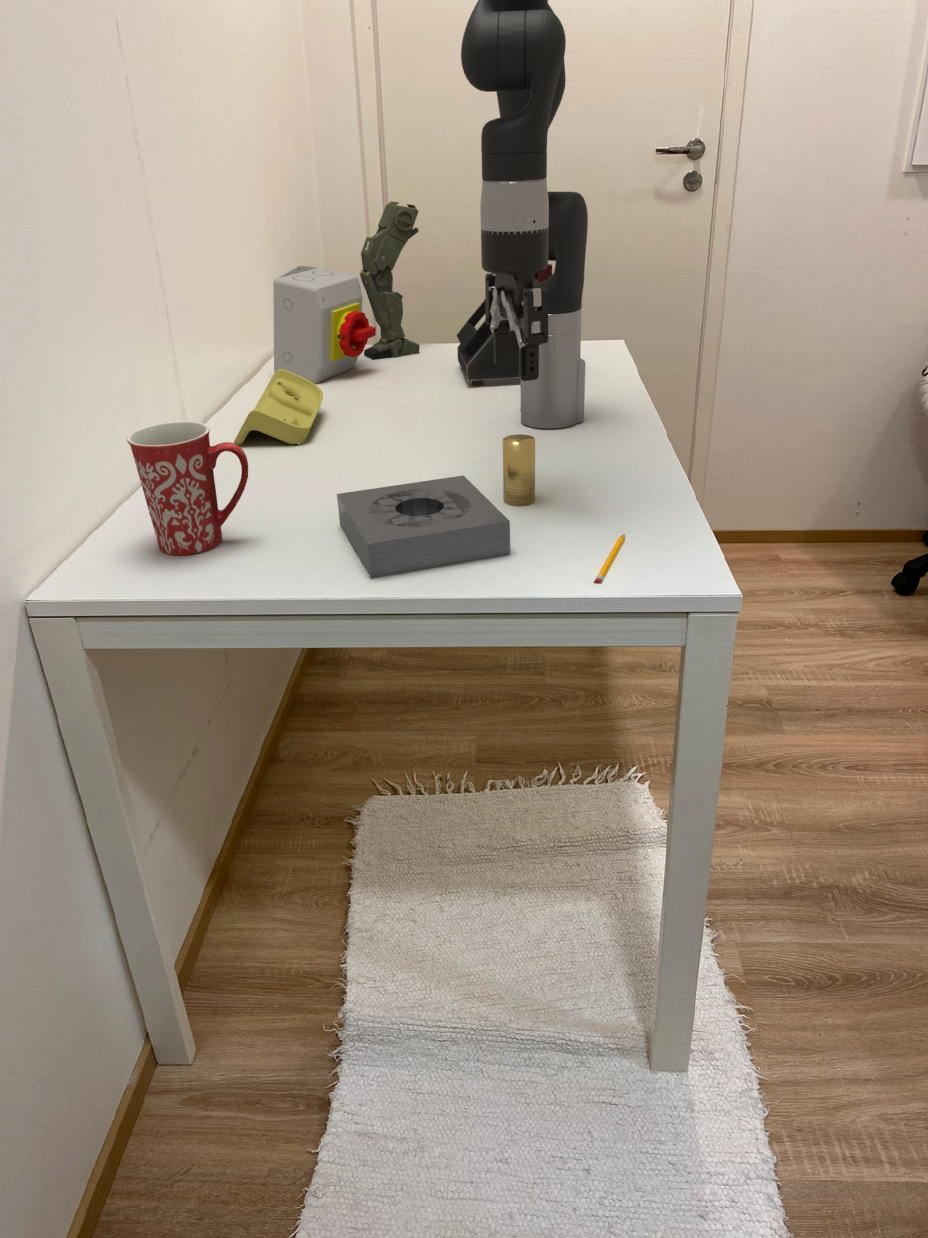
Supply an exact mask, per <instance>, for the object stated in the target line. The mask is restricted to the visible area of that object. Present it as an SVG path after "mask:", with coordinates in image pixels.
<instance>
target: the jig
mask: <svg viewBox="0 0 928 1238" xmlns="http://www.w3.org/2000/svg"><path fill="white" fill-rule="evenodd" d="M336 497H337V498H336V499H337V507H338V508H337V509H338V516H339V517H338V518H339V525H340V527H341V529H342V530H343V533H344V534H345V536H346V538H347V539H348V542H349V543H350V545H351V546H352V548H353V550H354V552H355V553H356V555H357V557H358V558H359V560H360V562H361V564H362V565H363V567H364V569H365V570H366V573H367V574H368V576H369V577H370V579H375V578H380V577H381V578H382V577H386V576H393V575H398V574H403V573H410V572H416V571H420V570H426V569H427V570H428V569H433V568H434V569H435V568H439V567H443V566H444V567H445V566H450V565H456V564H461V563H467V562H468V563H469V562H473V561H478V560H485V559H490V558H491V559H492V558H496V557H497V558H498V557H503V556H508V555H511V520H510V519H509V518H507V517H506V516H505V515H504V514H503V512H502V511H500V510H499V509H498V508H497V507H496V506H495V505H494V504H493V502H491V501H490V500H489V499H488V498H487V497H486V496H485V495H484V494H483V493H482V492H481V491H480V490H479V489H478V488H477V487H476V486H475V485H474V484H473V483H472V482H471V481H470V480H469V479H468V478H467V477H466V476H465V475H456V476H452V477H451V476H450V477H444V478H437V479H430V480H423V481H417V482H416V481H415V482H409V483H402V484H396V485H387V486H383V487H382V486H381V487H377V488H376V487H375V488H370V489H361V490H355V491H347V492H341V493H340V492H339V493H336Z"/></svg>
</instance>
